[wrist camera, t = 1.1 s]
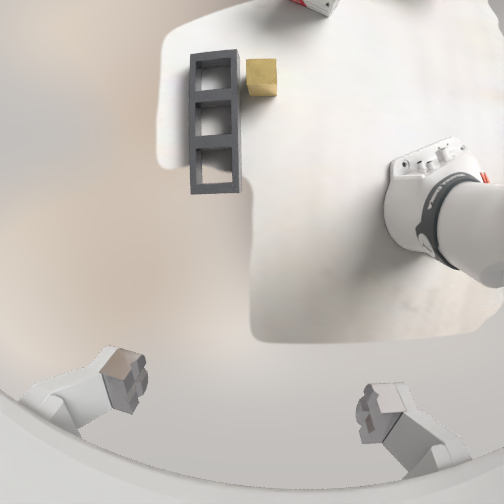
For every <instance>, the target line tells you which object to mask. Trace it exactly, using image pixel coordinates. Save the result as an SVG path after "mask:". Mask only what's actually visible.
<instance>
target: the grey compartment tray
mask: <svg viewBox="0 0 504 504" xmlns="http://www.w3.org/2000/svg"><path fill="white" fill-rule="evenodd" d="M222 66H231V88H226V89H214V90H204V91H201V69H203V68H212V67H222ZM227 105H231V131H232V134H222V135H208V136H201V108H203V107H214V106H227ZM217 149H232V176H233V178H232V179H233V182H232V183H231V182H230V183H205V184H202V150H217ZM189 152H190V186H191V194H216V193H240V192H241V191H242V169H241V118H240V57H239V54H238V51H237V49H234V50H222V51H212V52H204V53H196V54H190V83H189Z"/></svg>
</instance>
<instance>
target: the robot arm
mask: <svg viewBox="0 0 504 504" xmlns="http://www.w3.org/2000/svg"><path fill="white" fill-rule="evenodd" d="M461 149H462V150H461ZM403 162H404V163H405V167H403V165H402V163H403ZM384 219H385V223H386V227H387V229H388V231H389V233H390V235H391V237H392V238H393V239H394V241H395V242H396V243H397V244H398V245H400V246H401V247H403V248H405V249H407V250H410V251H418V252H425V253H428V254H429V255H431V256H432V257H434V258H435V259H436V260H438V261H440V262H441V263H443V264H445V265H447V266H448V267H450V268H452V269H455V270H461V271H463V272H464V273H466V274H467V275H469V276H470V277H472V278H474V279H475V280H477V281H478V282H480V283H481V284H483V285H484V286H486V287H489V288H500V287H503V286H504V184H491V183H490V182H489V180H488V177H487V175H486V174H485V172H483V170H482V168H481V166H480V164H479V162H478V161H477V159H476V158H475V157H474V156H473V155H472V154H471V153H470V152H469V151H468V150H467V148H466V147H465V146H464V145H463V144H462V142H460V141H459V140H458V139H457V138H455V137H449V138H446V139H444V140H441V141H439V142H436V143H434V144H431V145H429V146H426V147H424V148H421V149H419V150H417V151H414V152H412V153H409V154H407V155H404V156H402V157H400V158H397V159H395V160H393V161H392V162H391V165H390V184H389V187H388V190H387V192H386V196H385V201H384ZM145 364H146V360H145V356H144V355H142V354H138V353H135V352H132V351H128V350H125V349H122V348H117V347H115V346H111V345H107V346H105V348H104V349H103V350H102V351H101V352H100V353H99V354H98V356H97V357H96V358H95V359H94V360H93V361H92V362H91V364H90V365H89V366H88V367H87V368H85V367H82V368H80V369H76V370H74V371H71V372H68V373H65V374H62V375H59V376H56V377H53V378H49V379H46V380H43V381H40V382H37V383H34V385H33V386H32V387H31V388H30V389H29V390H28V391H27V392H26V393H25V394H24V395H23V396H22V397H21V398H20V400H19V401H18V402H17V401H16V400H14V399H13V398H11V397H10V396H9V395H7V394H6V393H4V392H3V391H2V390H0V504H504V447H502V448H500V449H498V450H495V451H493V452H491V453H489V454H486V455H484V456H481V457H479V458H476V459H474V460H472V458H471V456H470V454H469V452H468V450H467V447H466V445H465V443H464V441H463V439H462V438H461V437H460V436H458V435H457V434H455V433H454V432H452V431H451V430H449V429H448V428H446V427H445V426H443V425H442V424H441V423H439V422H438V421H436V420H435V419H433V418H432V417H431V416H429V415H428V414H426V413H425V412H423V411H422V410H418V409H417V406H416V404H415V402H414V400H413V398H412V396H411V394H410V392H409V389H408V387H407V385H406V384H405V383H404V382H399V383H378V384H377V383H375V384H368V385H367V386H366V387H365V389H364V394H365V396H364V397H362V398H361V399H360V400H359V402H358V404H357V408H356V420H357V422H358V423H359V424H360V425H361V426H362V427H361V428H360V430H359V433H360V437H361V441H362V444H372V443H382V444H383V445H384V446H385V447H386V449H387V450H388V451H389V452H390V453H391V454H392V455H393V456H394V457H395V458H396V459H397V460H398V461H399V462H400V463H401V464H402V465H403V467H404V468H405V469H406V470H407V471H408V472H409V473H408V474H407V475H406V476H405V477H404V478H403V479H402V480H399V481H394V482H388V483H382V484H375V485H368V486H360V487H348V488H335V489H276V488H262V487H252V486H242V485H235V484H227V483H222V482H215V481H210V480H205V479H200V478H195V477H191V476H186V475H182V474H178V473H174V472H170V471H167V470H163V469H160V468H156V467H153V466H150V465H146V464H143V463H140V462H137V461H135V460H132V459H129V458H126V457H123V456H121V455H118V454H116V453H113V452H111V451H108V450H106V449H103V448H101V447H99V446H96V445H94V444H92V443H89V442H87V441H85V440H83V439H82V437H81V435H80V433H79V432H78V430H77V429H78V428H80V427H82V426H84V425H86V424H88V423H89V422H91V421H92V420H95V419H96V418H98V417H100V416H101V415H103V414H105V413H107V412H108V411H110V410H112V408H113V409H116V410H120V411H122V412H126V413H129V414H133V412H134V411H135V409H136V407H137V405H138V403H139V401H138V397H139V396H142V395H143V394H144V392H145V391H146V388H147V384H148V373H147V371H146V370H145V369H144V366H145Z"/></svg>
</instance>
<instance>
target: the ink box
mask: <svg viewBox="0 0 504 504" xmlns="http://www.w3.org/2000/svg"><path fill="white" fill-rule="evenodd" d="M291 1H293V2H296V3H298V4H301V5H303V6H305V7H308V8H310V9H312V10H315V11H317V12H319V13H321V14H323V15H325V16H327V17H329V16H330V15H331V14H332V12H333V11H334V10H335V8H336V7H337V5H338V4H339V2H340V0H291Z"/></svg>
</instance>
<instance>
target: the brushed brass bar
mask: <svg viewBox="0 0 504 504" xmlns="http://www.w3.org/2000/svg"><path fill="white" fill-rule="evenodd" d="M246 81H247V88H248V91H249V94H250V96H277V71H276V59H247V60H246Z"/></svg>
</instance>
